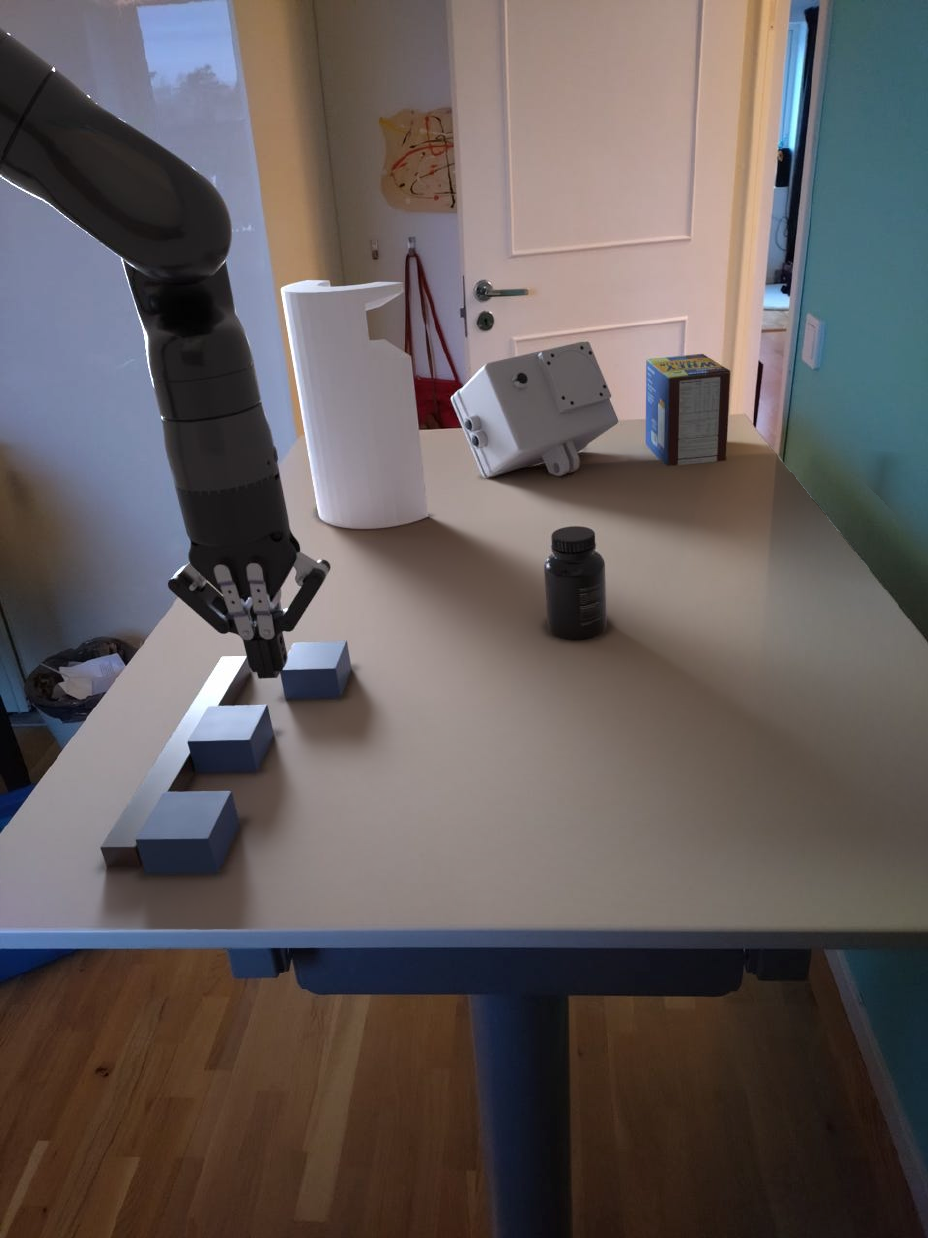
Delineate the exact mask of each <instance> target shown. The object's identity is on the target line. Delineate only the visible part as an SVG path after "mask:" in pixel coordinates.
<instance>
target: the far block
mask: <svg viewBox="0 0 928 1238" xmlns="http://www.w3.org/2000/svg"><path fill="white" fill-rule="evenodd" d="M287 656H288V658H287V662H286V664H285V666H284V668H283V670H282V671H281V672H280V674H279V676H280V679H281V684H282V685H281V686H282V689H283V695H284V699H285V700H303V699H305V700H307V699H309V700H311V699H338V698H339V699H340V698H342V696H343V693H344V690H345V687H346V686H347V683H348V680H349V677H350V674H351V672H352V664H351V657H350V650H349V644H348V640H331V641H329V640H327V641H302V642H300V641H299V642H293V643H292V645H291V647H290V649H289V651H288V652H287Z"/></svg>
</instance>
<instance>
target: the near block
mask: <svg viewBox="0 0 928 1238" xmlns="http://www.w3.org/2000/svg"><path fill="white" fill-rule="evenodd" d="M240 824H241V823H240V818H239V815H238V811H237V807H236V803H235V800H234V795H233V792H232V790H209V791H208V790H205V791H203V790H201V791H184V792H163V794H162V796H161V797H160V799H159V801H158V802H157V804H156V806H155V807H154V809H153V811H152V812H151V814H150V816H149V817H148V819H147V821H146V823H145V824H144V826H143V828H142V829H141V831H140V833H139V834H138V836H137V838H136V839H135V841H136V844H137V847H138V850H139V853H140V856H141V859H142V862H143V865H142V866H143V868H144V872H145V874H146V875H172V874H173V875H174V874H175V875H176V874H177V875H179V874H180V875H181V874H182V875H183V874H191V875H193V874H194V875H195V874H197V875H199V874H218V873H219V871H220V869H221V867H222V864H223V863H224V860H225V858H226V856H227V854H228V851H229V849H230V848H231V846H232V845H231V844H232V842H233V840H234V839H235V836H236V833H237V831H238V829H239V827H240Z"/></svg>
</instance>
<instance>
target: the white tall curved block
mask: <svg viewBox="0 0 928 1238" xmlns="http://www.w3.org/2000/svg"><path fill="white" fill-rule="evenodd" d="M404 292H405V289H404V282H403V281H402V282H401V281H400V282H399V281H374V282H368V283H360V284H352V285H340V286H339V285H338V286H332V285H331V280H324V279H323V280H322V279H321V280H319V279H318V280H317V279H306V280H301V281H297V282H292V283H288V284H286V285H283V286H282V287H281V288H280V294H281V299H282V304H283V306H282V307H283V311H284V317H285V323H286V328H287V329H286V330H287V334H288V341H289V347H290V353H291V358H292V364H293V369H294V377H295V383H296V389H297V395H298V400H299V401H298V402H299V407H300V412H301V418H302V425H303V430H304V435H305V436H304V437H305V443H306V448H307V455H308V461H309V466H310V473H311V478H312V484H313V490H314V491H313V492H314V496H315V501H316V508H317V514H318V517H319V518H320V519H321V521H323V522H325V523H326V524H328V525H331V526H334V527H338V528H344V529H345V528H346V529H352V530H353V529H356V530H372V529H375V530H376V529H385V528H390V527H398V526H403V525H408V524H411V523H414V522H417V521H420V520H423V519H426V518H428V517H429V511H428V501H427V491H426V483H425V482H426V481H425V473H424V464H423V463H424V462H423V453H422V446H421V445H422V444H421V437H420V436H421V435H420V426H419V418H418V417H419V416H418V407H417V399H416V390H415V381H414V379H415V378H414V371H413V362H412V356H411V355H410V354H408V353H407V352H405V351H404V350H402V349H400V348H399V347H397V345H394V344H393V343H391V342H389V340H386V339H385V338H381V339H370V334H369V325H368V317H367V311H370V310H373V309H378V308H381V307H382V306H384V305H385V304H387V303H388V302H390V301H392V300H394V299H395V298H397V297H398V296H400V295H401V294H403V293H404Z"/></svg>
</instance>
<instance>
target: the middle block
mask: <svg viewBox="0 0 928 1238" xmlns="http://www.w3.org/2000/svg"><path fill="white" fill-rule="evenodd" d="M274 736H275V733H274V728H273V723H272V718H271V714H270V710H269V706H268V704H250V705H248V704H242V705H241V704H240V705H239V704H238V705H232V706H209V707H208V708H207V710H206V711H205V713H204V715H203V716H202V718H201V720H200V721H199V723H198V725H197V726H196V728H195V730H194V731H193V733H192V735H191V736H190V738H189V740H188V741H187V743H188V746H189V750H190V754H191V757H192V761H193V765H194V769H195V772H194V773H196V774H198V773H199V774H201V773H203V774H204V773H205V774H206V773H248V772H249V773H250V772H258V771H259V769H260V766H261V764H262V762H263V760H264V758H265V755H266V754H267V751H268V749H269V747H270V745H271V742H272V740H273V738H274Z"/></svg>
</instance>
